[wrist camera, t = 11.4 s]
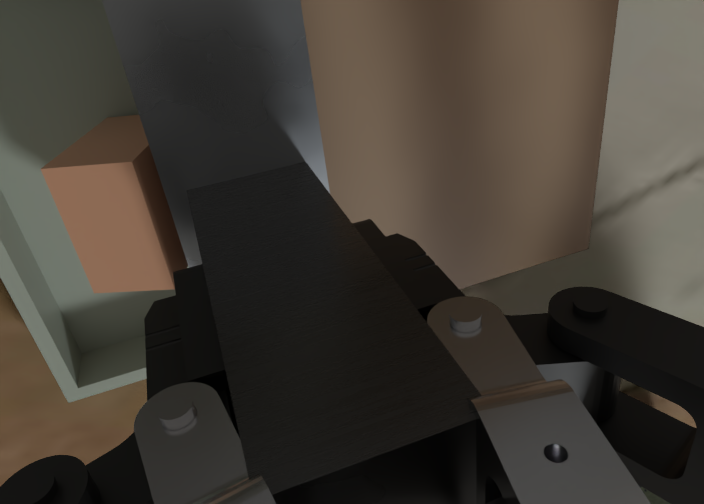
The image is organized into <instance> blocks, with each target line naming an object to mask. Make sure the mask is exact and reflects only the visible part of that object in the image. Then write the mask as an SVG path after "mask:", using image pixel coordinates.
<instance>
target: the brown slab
mask: <svg viewBox="0 0 704 504" xmlns="http://www.w3.org/2000/svg"><path fill="white" fill-rule="evenodd" d="M300 1H301V7H302V14H303V20H304V27H305V34H306V40H307V47H308V53H309V60H310V66H311V73H312V79H313V86H314V92H315V99H316V105H317V112H318V118H319V125H320V131H321V138H322V144H323V151H324V157H325V164H326V170H327V177H328V183H329V190H330V195H331V196H332V197H333V199H334V200H335V201H336V203H337V204H338V205H339V207H340V208H341V209H342V211H343V212H344V213H345V215H346V216H347V217H348V219H349V220H350V221H351V222H352V223H356V222H359V221H363V220H367V219H371V220H372V221H373V222H374V223H375V224H376V226H377V227H378V228H379V229H380V230H381V232H382V233H383V234H384V235H385V236H389V235H393V234H396V233H398V234H401V235H403V236H405V237H407V238H409V239H412V240H414V241H416V242H417V244H418V245H419V246H420V247H421V248H422V249H423V250H424V251H425V252H426V255H427V256H429V257H430V258H431V259H432V260H433V261H434V262H435V265H438V267H439V268H440V269H441V270H442V271H443V272H444V273H445V274H446V275H447V276H448V278H449V279H450V280H451V281H452V282H453V283H454V284H455V285H456V286H457V287H458V289H462V288H465V287H468V286H471V285H475V284H478V283H481V282H484V281H487V280H490V279H494V278H497V277H500V276H503V275H506V274H510V273H513V272H516V271H519V270H522V269H525V268H529V267H532V266H535V265H538V264H541V263H545V262H548V261H551V260H554V259H557V258H560V257H564V256H567V255H570V254H573V253H576V252H579V251H583V250H586V249H588V248H589V239H590V231H591V223H592V215H593V207H594V198H595V190H596V182H597V174H598V166H599V157H600V149H601V141H602V133H603V125H604V116H605V108H606V100H607V92H608V84H609V75H610V67H611V59H612V51H613V43H614V34H615V26H616V18H617V10H618V2H619V0H300Z"/></svg>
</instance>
